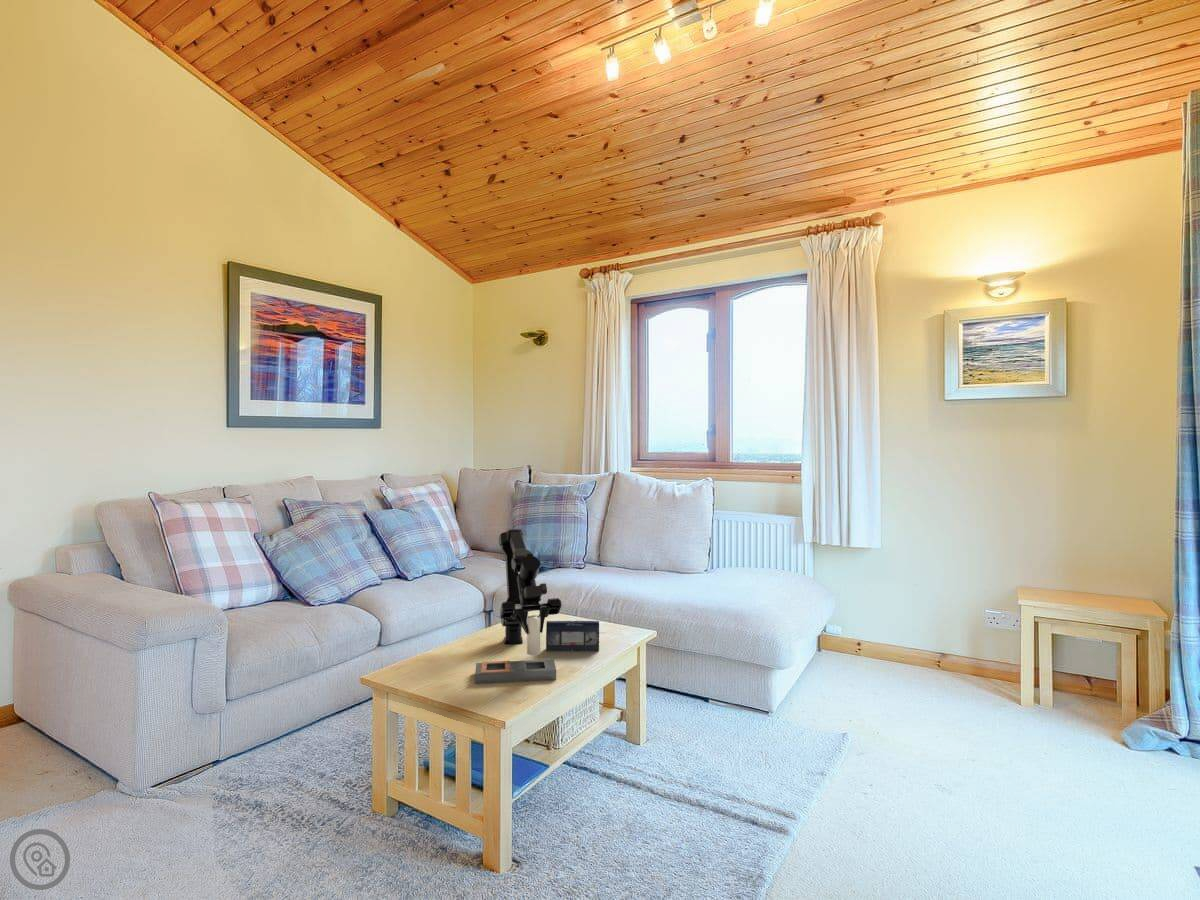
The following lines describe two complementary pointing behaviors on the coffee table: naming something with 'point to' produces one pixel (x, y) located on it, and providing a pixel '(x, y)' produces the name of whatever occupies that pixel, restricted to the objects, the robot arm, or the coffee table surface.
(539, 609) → the robot arm
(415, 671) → the coffee table surface
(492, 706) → the coffee table surface
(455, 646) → the coffee table surface
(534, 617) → the peg
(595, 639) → the vhs cassette tape
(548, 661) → the rail
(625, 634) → the coffee table surface
